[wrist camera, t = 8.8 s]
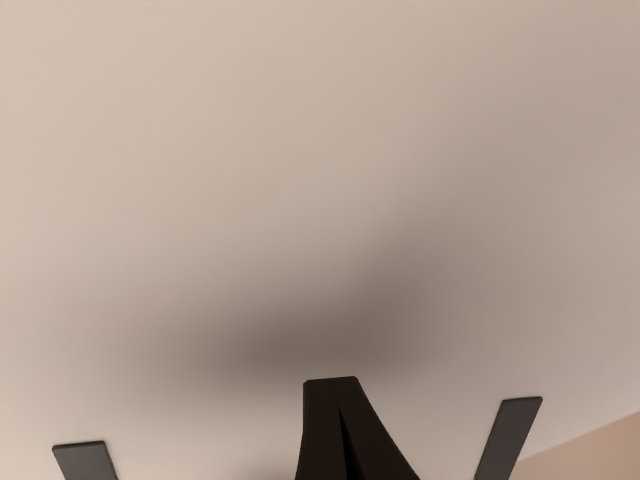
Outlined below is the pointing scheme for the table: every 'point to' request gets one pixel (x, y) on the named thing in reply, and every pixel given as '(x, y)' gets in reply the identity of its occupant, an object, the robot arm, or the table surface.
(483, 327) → the table surface
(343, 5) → the table surface
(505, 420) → the tape marks
